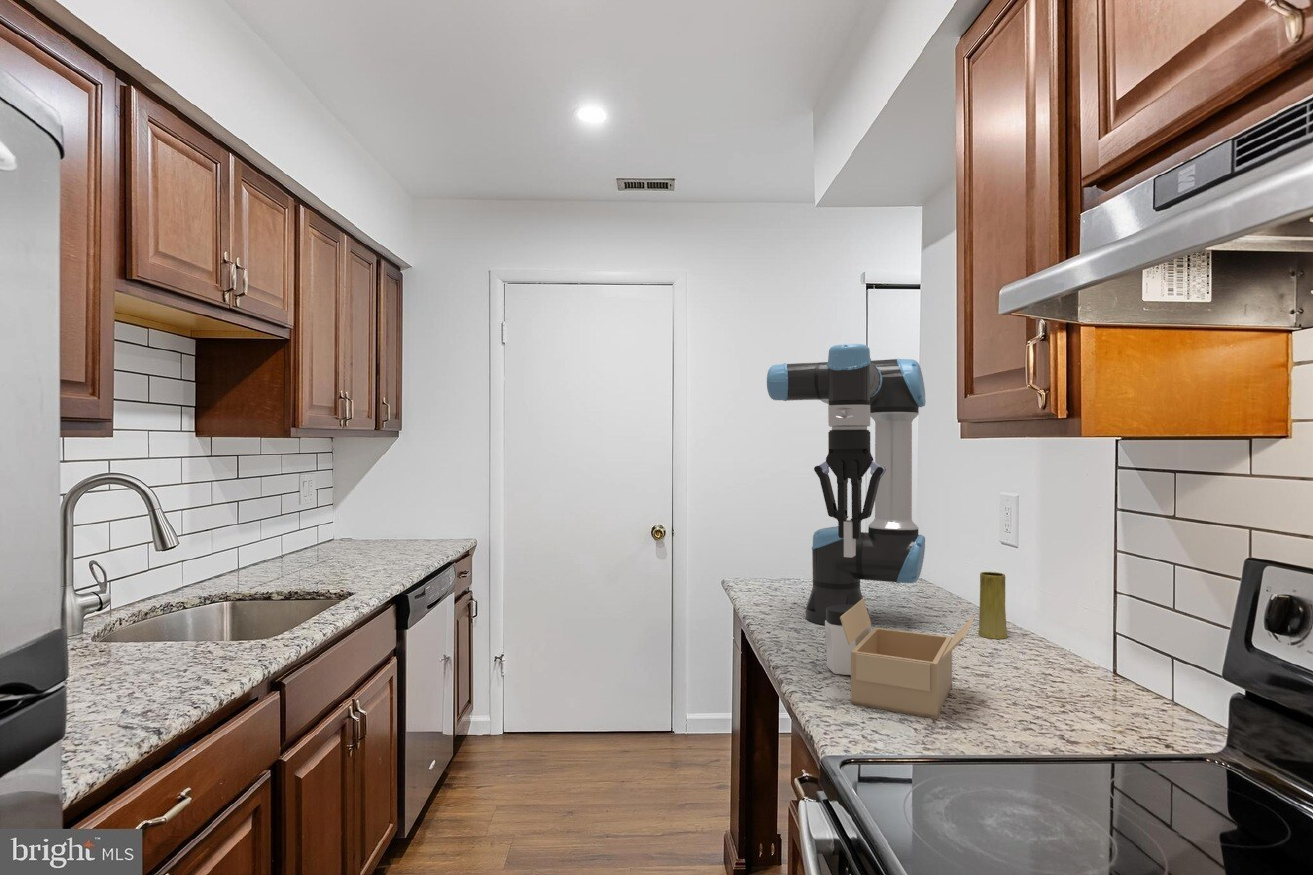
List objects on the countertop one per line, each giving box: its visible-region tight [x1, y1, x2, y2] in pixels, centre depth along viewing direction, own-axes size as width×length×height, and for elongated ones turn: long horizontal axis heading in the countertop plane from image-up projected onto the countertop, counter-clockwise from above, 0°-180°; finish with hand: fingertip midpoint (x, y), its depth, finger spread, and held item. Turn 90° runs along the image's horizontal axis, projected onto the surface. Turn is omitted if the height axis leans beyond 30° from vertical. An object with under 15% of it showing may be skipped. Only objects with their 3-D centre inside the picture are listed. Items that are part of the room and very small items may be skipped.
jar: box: [824, 604, 872, 676], centre depth 144 cm, size 9×8×12 cm
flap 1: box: [840, 598, 872, 645], centre depth 134 cm, size 16×5×1 cm
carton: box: [850, 627, 953, 720], centre depth 130 cm, size 19×14×9 cm
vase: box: [978, 571, 1008, 640], centre depth 168 cm, size 6×6×14 cm
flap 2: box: [942, 615, 975, 659], centre depth 126 cm, size 16×5×1 cm
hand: (849, 556), depth 135 cm, fingers closed
